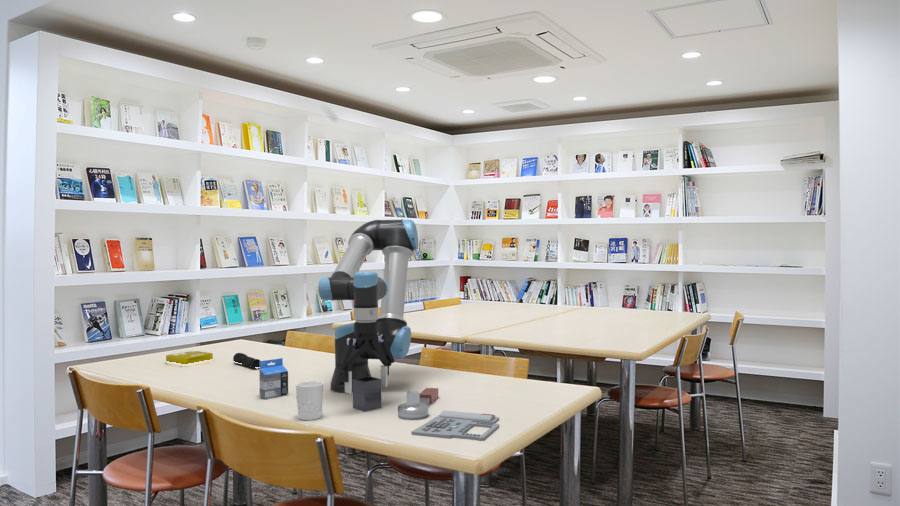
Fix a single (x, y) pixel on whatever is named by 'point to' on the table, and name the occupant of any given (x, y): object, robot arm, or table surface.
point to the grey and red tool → (417, 404)
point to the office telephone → (458, 425)
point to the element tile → (189, 357)
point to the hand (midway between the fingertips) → (366, 389)
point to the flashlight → (246, 360)
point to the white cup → (309, 400)
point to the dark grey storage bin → (367, 393)
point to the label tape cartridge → (273, 379)
